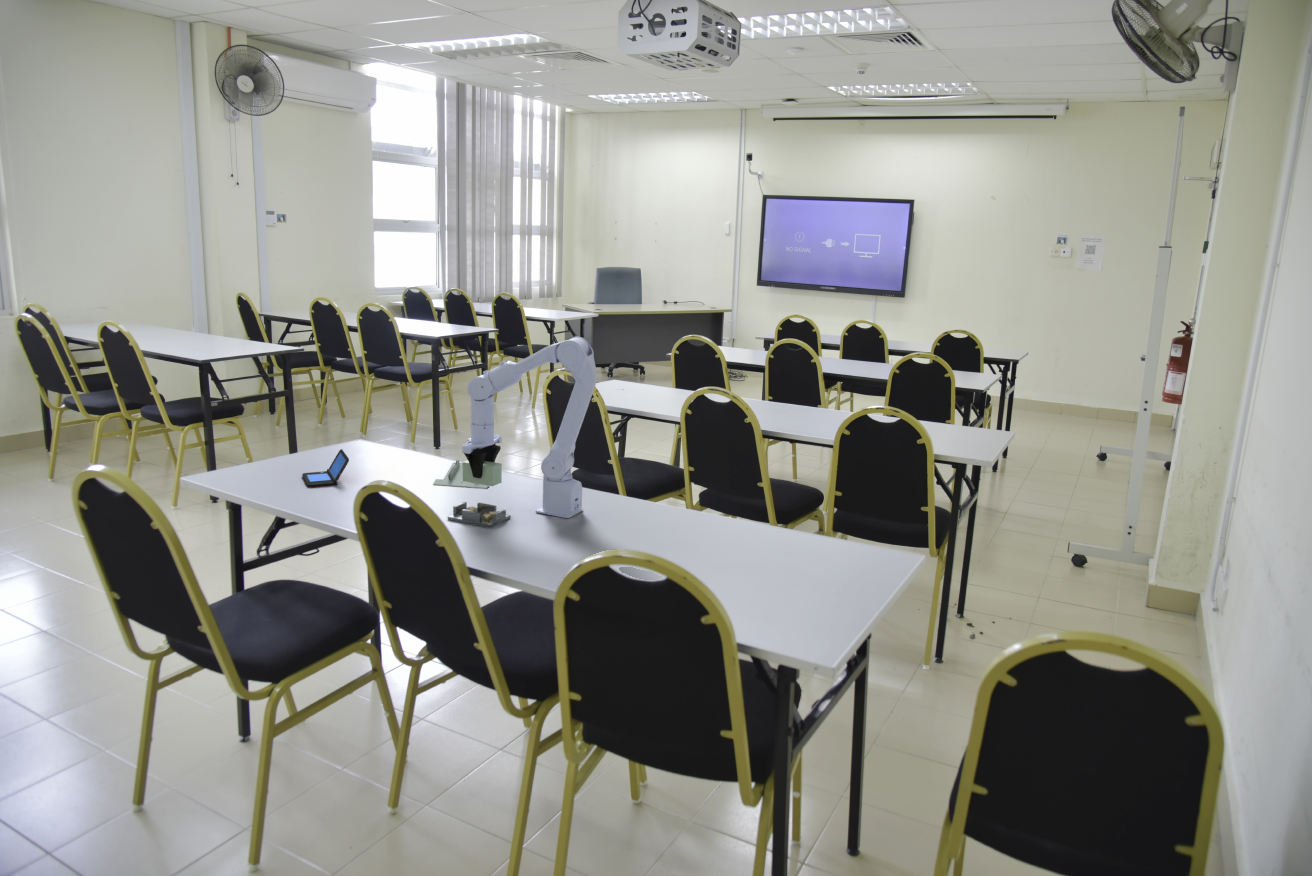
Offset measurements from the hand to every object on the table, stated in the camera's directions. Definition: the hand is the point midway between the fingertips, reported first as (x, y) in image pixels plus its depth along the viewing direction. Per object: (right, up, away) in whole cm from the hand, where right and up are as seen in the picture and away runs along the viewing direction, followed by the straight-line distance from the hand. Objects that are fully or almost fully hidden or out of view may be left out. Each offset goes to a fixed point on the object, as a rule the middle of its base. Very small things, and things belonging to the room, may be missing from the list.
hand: (482, 475), depth 217 cm
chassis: (+1, -10, -10) cm, 14 cm away
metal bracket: (-9, -3, +22) cm, 24 cm away
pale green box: (0, -2, 0) cm, 2 cm away
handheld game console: (-46, -2, +16) cm, 49 cm away
